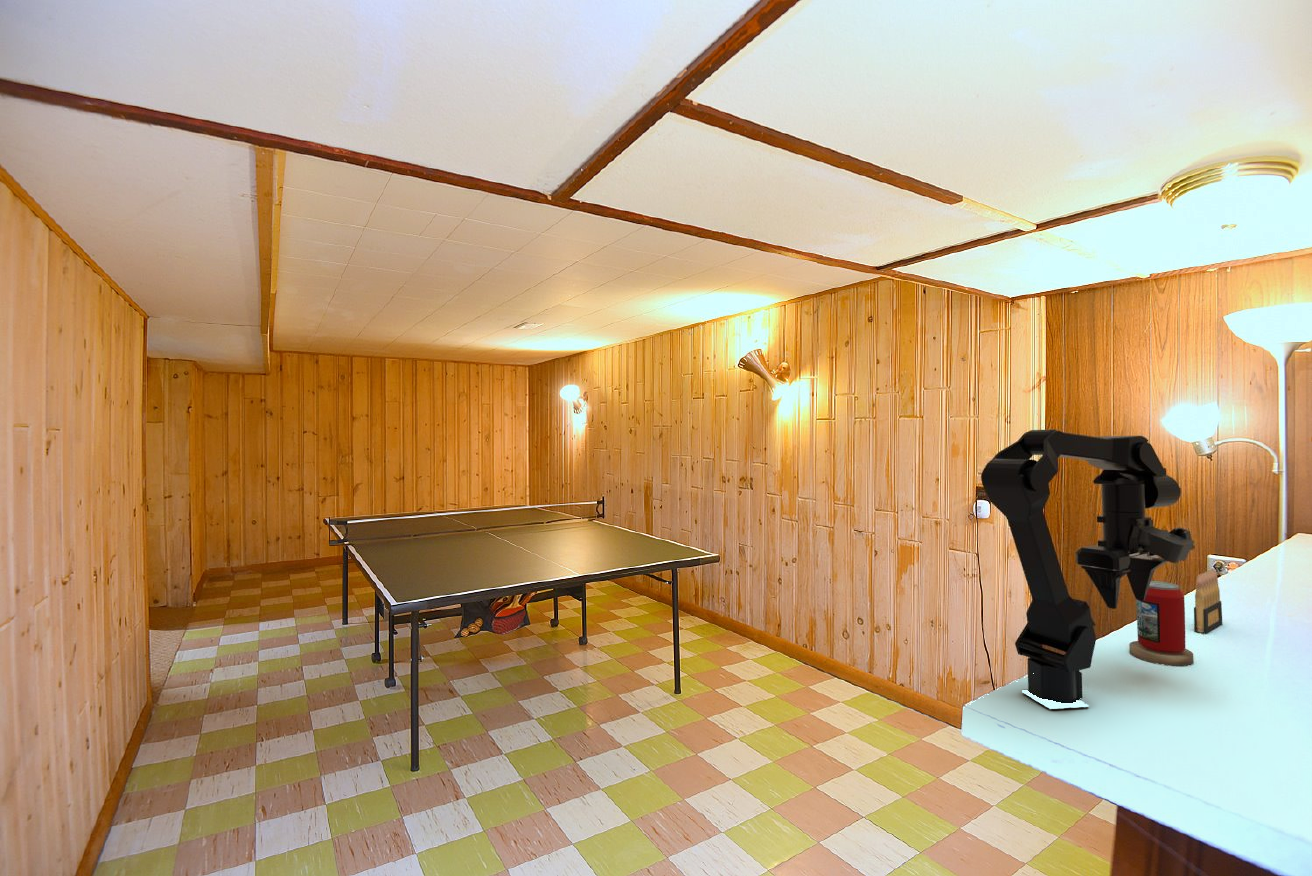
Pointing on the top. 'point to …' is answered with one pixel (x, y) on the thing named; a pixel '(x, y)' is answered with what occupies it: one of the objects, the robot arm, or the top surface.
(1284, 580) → the top surface
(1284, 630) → the top surface
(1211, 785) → the top surface
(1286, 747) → the top surface
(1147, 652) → the coaster
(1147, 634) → the beverage can
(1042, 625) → the robot arm
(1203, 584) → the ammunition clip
